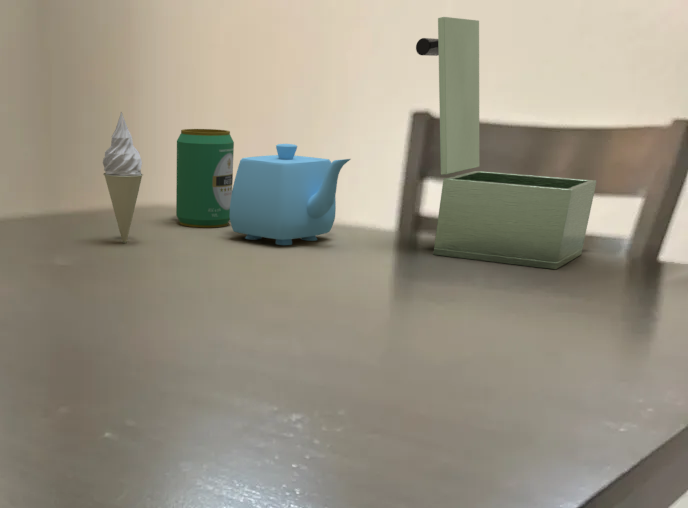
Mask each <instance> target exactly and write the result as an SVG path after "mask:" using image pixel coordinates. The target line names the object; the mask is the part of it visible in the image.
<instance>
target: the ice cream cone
mask: <svg viewBox="0 0 688 508" xmlns="http://www.w3.org/2000/svg"><path fill="white" fill-rule="evenodd" d="M113 131H114V132H113V133H112V134H111V143H110V147H108V148H107V150H105V151H104V157H102V158H103V159H102V165H103V167H104V168H103V171H104V173H103V174H102V175H103V176H104V178H105V179H104V180H105V182H106V186H107V189H108V193H109V198H110V200H111V205H112V208H113V212H114V216H115V220H116V223H117V226H118V231H119V234H120V238H121V242H122V243H123V244H127V242H128V238H129V233H130V230H131V226H132V221H133V217H134V212H135V208H136V203H137V199H138V195H139V191H140V186H141V182H142V178H143V176H144V174H143V173H142V165H143V161H142V157H141V155H140V151H138V149H136V147H135V146H134V141H133V136H132V134H131V131H130V130H129V127H128V124H127V122H126V120H125V118H124V114H123V111H120V115H119V118H118V121H117V124H116V126H115V129H114V130H113Z"/></svg>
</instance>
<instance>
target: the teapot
mask: <svg viewBox="0 0 688 508" xmlns="http://www.w3.org/2000/svg"><path fill="white" fill-rule="evenodd" d="M275 149H276V153H277V154H271V155H259V156H258V155H257V156H247V157H242V158H241V159H240V160H239V163H238V166H237V170H236V173H235V174H236V175H235V178H234V180H233V181H234V182H233V184H232V195H231V202H230V215H229V216H230V220H229V222H230V225H231V228H232V231H233V232H234V233H238V234H243V235H246V236H245V237H244V239H246V240H251V241H253V240H262V239H263V238H266V239H272V240H275V245H279V246H291V245H293V240H296V239H300V240H302V241H306V242H307V241H308V242H309V241H310V242H315V241H318V238H317V236H321V235H324V234H328V233H331V230H332V228H333V225H334V223H335V219H336V207H337V206H336V204H337V203H336V202H337V201H336V199H337V197H336V193H337V187H338V180H339V175H340V172H341V170H342V168H343V167H344V166H345V165H346V164H347V163H348V162H349V161H351V160H352V158H345V159H334V160H333V161H331V160H330V159H329V158H321V157H314V156H312V157H311V156H304V155H296V152H297V149H298V145H297V144H295V143H294V144H293V143H278V144H276V145H275Z"/></svg>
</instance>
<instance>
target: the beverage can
mask: <svg viewBox="0 0 688 508" xmlns="http://www.w3.org/2000/svg"><path fill="white" fill-rule="evenodd" d="M234 147H235V141H234V139H233V138H232V136H231V131H230V130H225V129H216V128H215V129H214V128H213V129H212V128H184V129H180V134H179V136H178V138H177V139H176V187H175V188H176V189H175V190H176V202H175V203H176V205H175V206H176V208H175V209H176V210H175V211H176V212H175V215H176V218H177V219H178V221H179V224H180V225H181V226H185V227H192V228H204V229H205V228H208V229H209V228H222V227H223V228H224V227H227V226H228V225H229V222H230V216H229V215H230V202H231V195H232V190H233V184H234V182H233V181H234V180H233V179H234V177H233V176H234V151H235V149H234Z"/></svg>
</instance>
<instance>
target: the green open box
mask: <svg viewBox="0 0 688 508" xmlns="http://www.w3.org/2000/svg"><path fill="white" fill-rule="evenodd" d="M596 186H597V180H595V179H593V180H592V179H581V178H570V177H557V176H546V175H545V176H544V175H531V174H521V173H520V174H519V173H508V172H496V171H483V170H475V171H470V172H466V173H462V174H461V173H460V174H458V175H453V176H450V177H446V178H443V180H442V186H441V193H440V194H441V195H440V202H439V209H438V215H437V223H436V230H435V238H434V245H433V252H432V253H433V254H432V255H434V256H441V257H448V258H449V257H450V258H458V259H467V260H473V261H475V260H476V261H483V262H491V263H498V264H499V263H500V264H506V265H513V266H514V265H515V266H523V267H524V266H525V267H531V268H541V269H547V270H558V269H559V268H562V267H563V266H565V265H567V264H568V263H569V262H572V261H573V260H574V259H577V258H578V257H580V256H581V255H582V253H583V247H584V243H585V239H586V234H587V229H588V223H589V219H590V215H591V210H592V206H593V200H594V196H595V190H596Z"/></svg>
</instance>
